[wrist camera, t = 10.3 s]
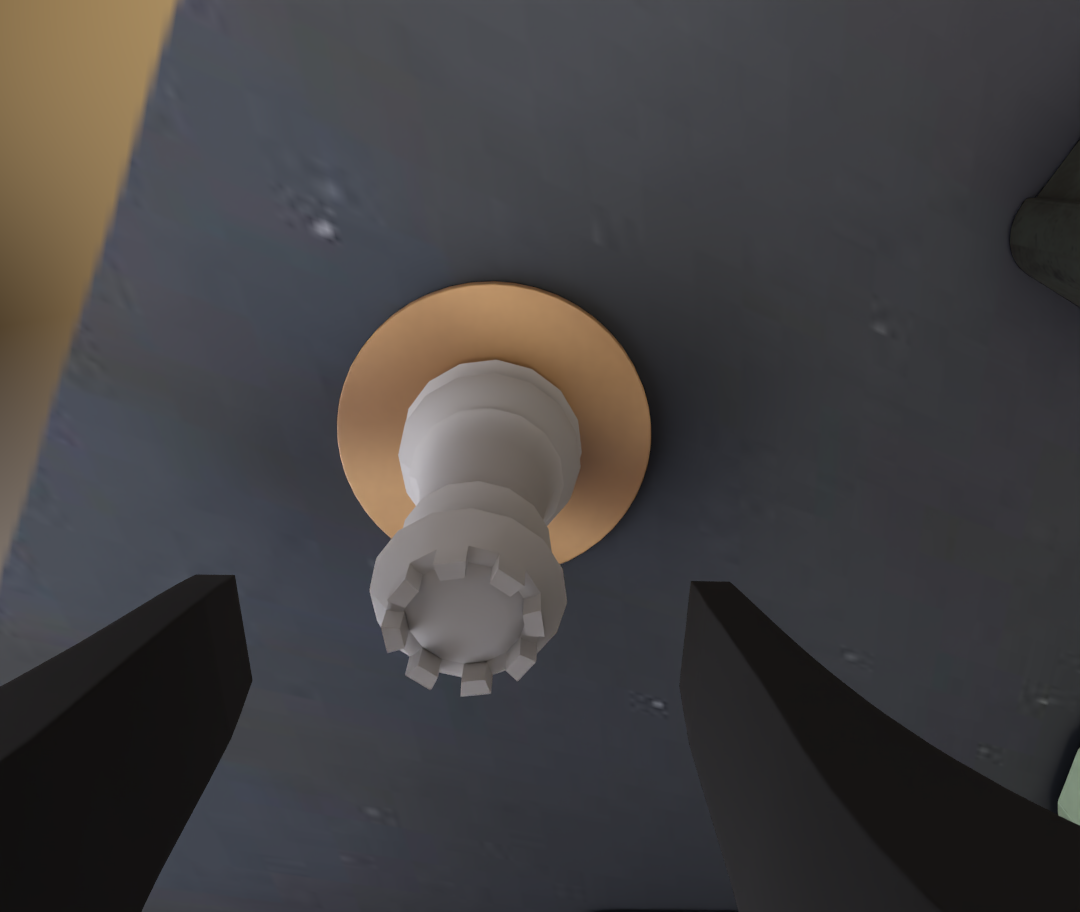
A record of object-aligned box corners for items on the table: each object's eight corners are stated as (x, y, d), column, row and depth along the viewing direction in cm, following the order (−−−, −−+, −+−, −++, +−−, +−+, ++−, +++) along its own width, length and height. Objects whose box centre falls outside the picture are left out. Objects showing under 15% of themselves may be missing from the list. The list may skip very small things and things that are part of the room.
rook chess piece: (404, 512, 20) (322, 736, 12) (404, 347, 18) (310, 492, 10) (572, 522, 20) (592, 750, 12) (589, 360, 18) (624, 512, 11)
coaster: (638, 571, 21) (640, 579, 20) (353, 567, 21) (350, 575, 20) (661, 283, 18) (664, 286, 17) (325, 278, 18) (320, 281, 17)
